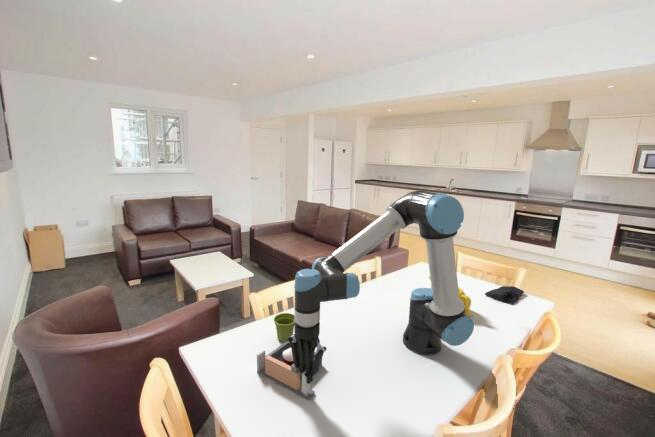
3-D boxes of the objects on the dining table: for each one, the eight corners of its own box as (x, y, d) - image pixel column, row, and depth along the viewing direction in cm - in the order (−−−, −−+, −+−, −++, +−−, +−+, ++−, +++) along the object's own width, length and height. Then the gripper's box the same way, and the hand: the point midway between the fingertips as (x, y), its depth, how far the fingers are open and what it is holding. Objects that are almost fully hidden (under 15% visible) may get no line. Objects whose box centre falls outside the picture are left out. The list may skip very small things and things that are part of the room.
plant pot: (300, 334, 132) (300, 315, 131) (290, 346, 123) (290, 326, 122) (280, 329, 135) (280, 311, 133) (269, 341, 126) (269, 322, 125)
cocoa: (287, 375, 106) (286, 344, 103) (276, 365, 111) (275, 336, 108) (308, 362, 113) (308, 333, 110) (297, 353, 117) (297, 325, 114)
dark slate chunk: (528, 296, 176) (530, 288, 175) (510, 306, 163) (512, 298, 162) (500, 287, 188) (501, 279, 187) (482, 295, 175) (483, 287, 174)
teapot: (415, 303, 163) (418, 279, 160) (437, 296, 172) (440, 272, 170) (458, 325, 142) (462, 297, 140) (480, 315, 152) (484, 289, 149)
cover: (300, 387, 100) (300, 365, 99) (296, 390, 99) (296, 368, 97) (268, 370, 108) (268, 349, 106) (264, 373, 106) (264, 352, 104)
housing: (335, 371, 110) (336, 353, 109) (308, 400, 96) (308, 380, 95) (287, 349, 122) (287, 333, 120) (257, 372, 108) (256, 354, 107)
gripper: (332, 322, 93) (330, 391, 97) (297, 310, 100) (297, 375, 104) (318, 333, 87) (316, 407, 91) (282, 319, 93) (282, 388, 98)
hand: (306, 390), depth 98 cm, fingers closed
